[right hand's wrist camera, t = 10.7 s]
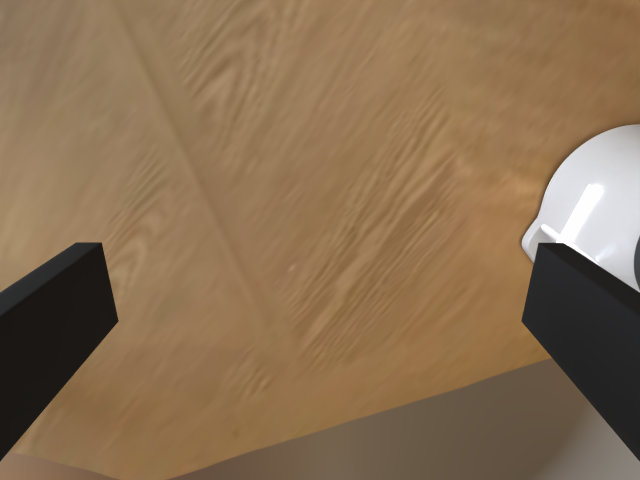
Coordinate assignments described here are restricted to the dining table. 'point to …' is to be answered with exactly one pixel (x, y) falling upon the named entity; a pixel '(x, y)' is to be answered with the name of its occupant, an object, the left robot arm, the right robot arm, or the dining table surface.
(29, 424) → the right robot arm
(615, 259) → the left robot arm
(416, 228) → the dining table surface
